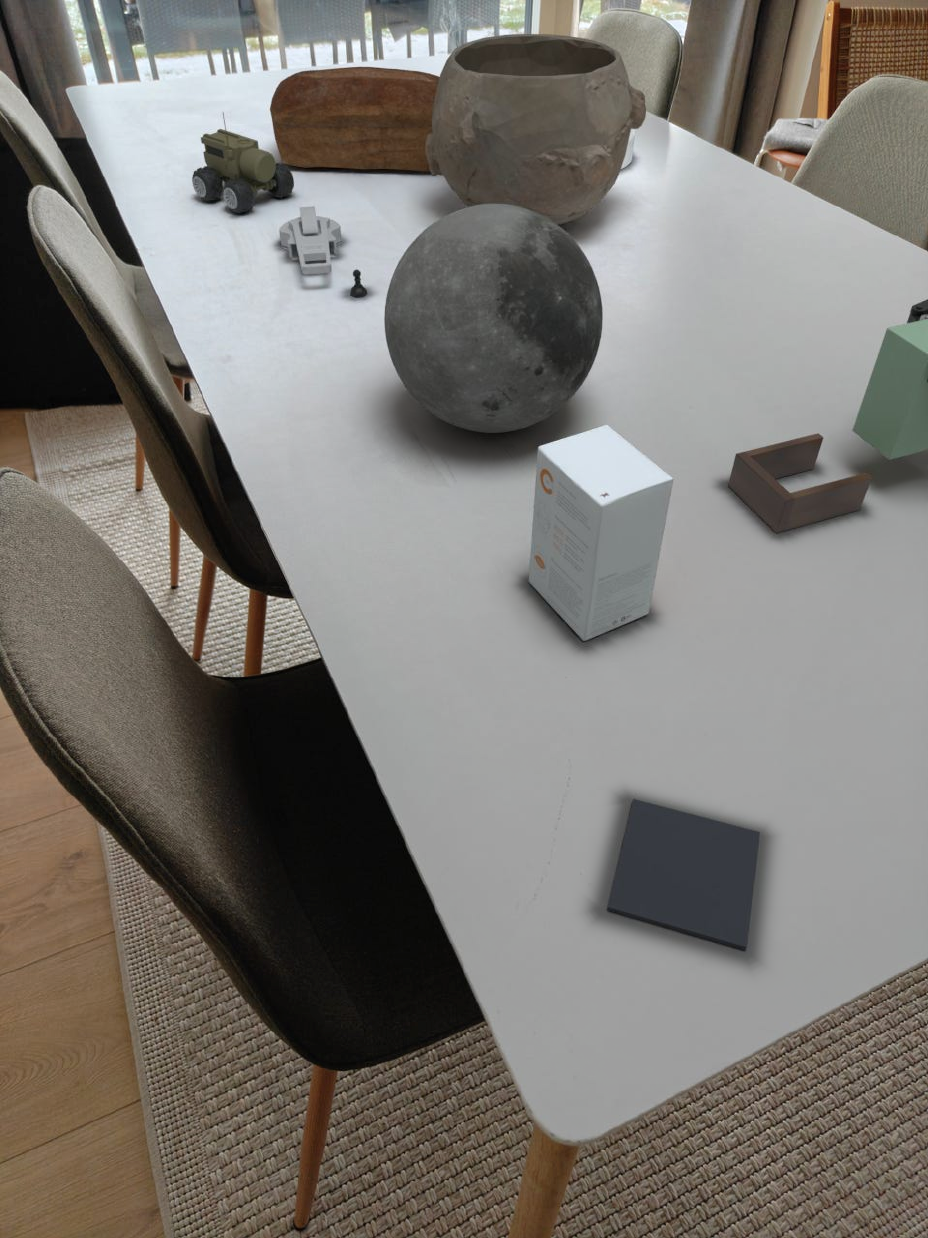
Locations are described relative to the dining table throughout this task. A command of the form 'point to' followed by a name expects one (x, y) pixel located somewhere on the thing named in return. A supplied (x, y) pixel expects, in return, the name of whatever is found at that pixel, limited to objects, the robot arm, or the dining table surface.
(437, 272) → the decorative sphere
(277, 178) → the toy vehicle
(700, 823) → the rubber mat
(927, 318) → the robot arm
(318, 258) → the zipper pull
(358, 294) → the chess pawn
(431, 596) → the dining table surface
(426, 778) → the dining table surface
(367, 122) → the bread
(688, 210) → the dining table surface
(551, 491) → the small box
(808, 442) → the u-shaped bracket
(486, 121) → the bowl
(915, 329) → the green rectangular block
